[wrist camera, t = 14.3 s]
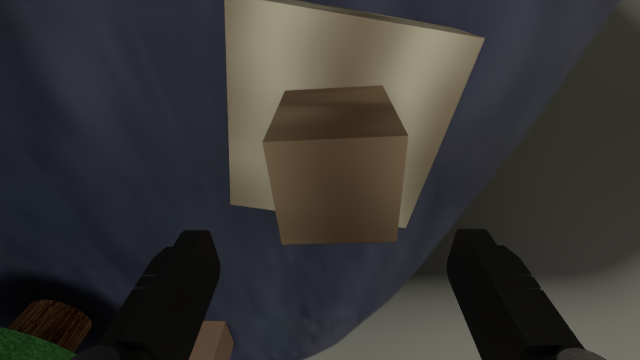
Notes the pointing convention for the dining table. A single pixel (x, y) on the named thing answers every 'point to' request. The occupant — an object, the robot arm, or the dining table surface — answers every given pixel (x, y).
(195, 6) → the dining table surface
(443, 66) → the birch block
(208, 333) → the tan cube
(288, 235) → the walnut block
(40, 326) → the decorative tree
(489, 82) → the dining table surface
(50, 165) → the dining table surface
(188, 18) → the dining table surface
